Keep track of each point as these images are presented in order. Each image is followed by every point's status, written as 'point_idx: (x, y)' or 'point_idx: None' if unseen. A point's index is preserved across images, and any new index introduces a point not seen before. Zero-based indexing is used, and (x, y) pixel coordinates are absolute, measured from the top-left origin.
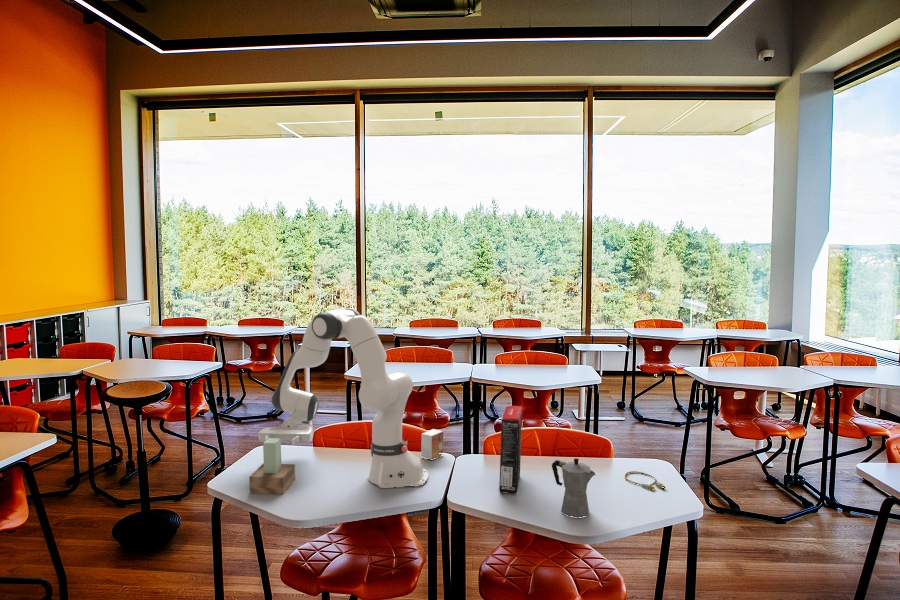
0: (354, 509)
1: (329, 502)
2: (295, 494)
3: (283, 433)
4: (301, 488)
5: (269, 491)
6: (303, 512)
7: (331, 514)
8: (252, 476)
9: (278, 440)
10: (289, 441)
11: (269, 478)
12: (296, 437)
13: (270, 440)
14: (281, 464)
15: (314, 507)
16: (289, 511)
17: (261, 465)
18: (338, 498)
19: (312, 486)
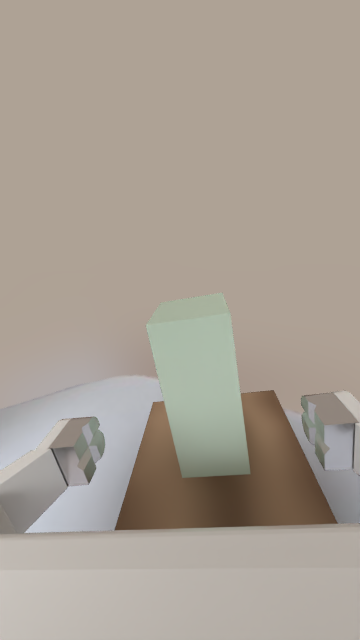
0: (11, 412)
1: (47, 427)
2: (128, 451)
3: (172, 530)
4: (107, 495)
5: None
6: (110, 391)
7: (61, 394)
8: (263, 392)
9: (153, 314)
10: (97, 423)
11: None
12: (4, 473)
13: (198, 305)
14: (197, 527)
15: (86, 406)
16: (136, 389)
17: (321, 496)
18: (17, 446)
19: (63, 519)
